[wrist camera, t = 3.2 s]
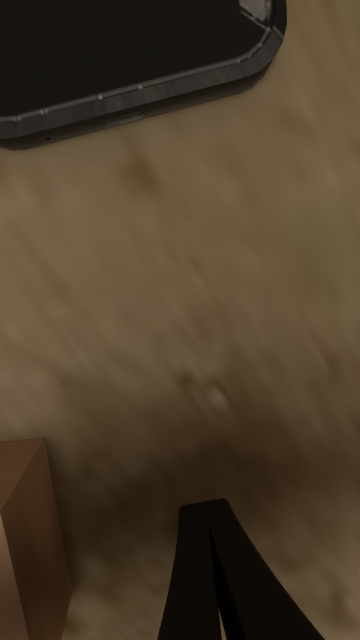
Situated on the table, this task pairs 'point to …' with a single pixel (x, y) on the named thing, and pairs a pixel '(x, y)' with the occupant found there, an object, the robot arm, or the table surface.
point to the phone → (125, 60)
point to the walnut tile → (30, 546)
